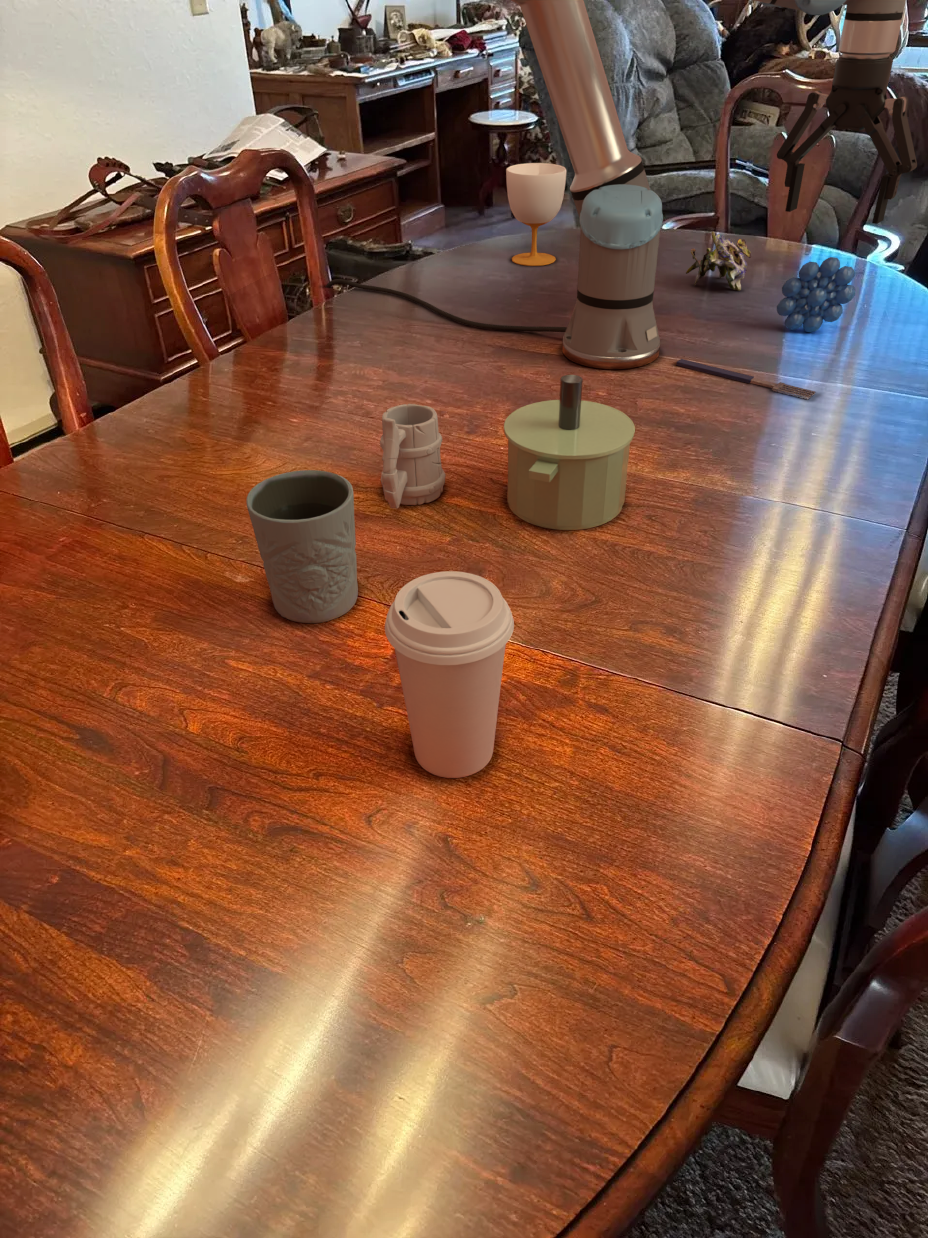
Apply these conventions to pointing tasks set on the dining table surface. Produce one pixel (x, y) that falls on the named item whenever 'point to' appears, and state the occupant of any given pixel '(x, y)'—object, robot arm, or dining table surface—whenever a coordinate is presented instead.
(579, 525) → the pot
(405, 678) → the coffee cup
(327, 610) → the embossed gray tumbler
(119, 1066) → the dining table surface
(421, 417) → the mug
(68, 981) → the dining table surface
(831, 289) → the grapes
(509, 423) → the pot lid
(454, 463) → the dining table surface
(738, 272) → the passion flower
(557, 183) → the cup
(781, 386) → the spatula
